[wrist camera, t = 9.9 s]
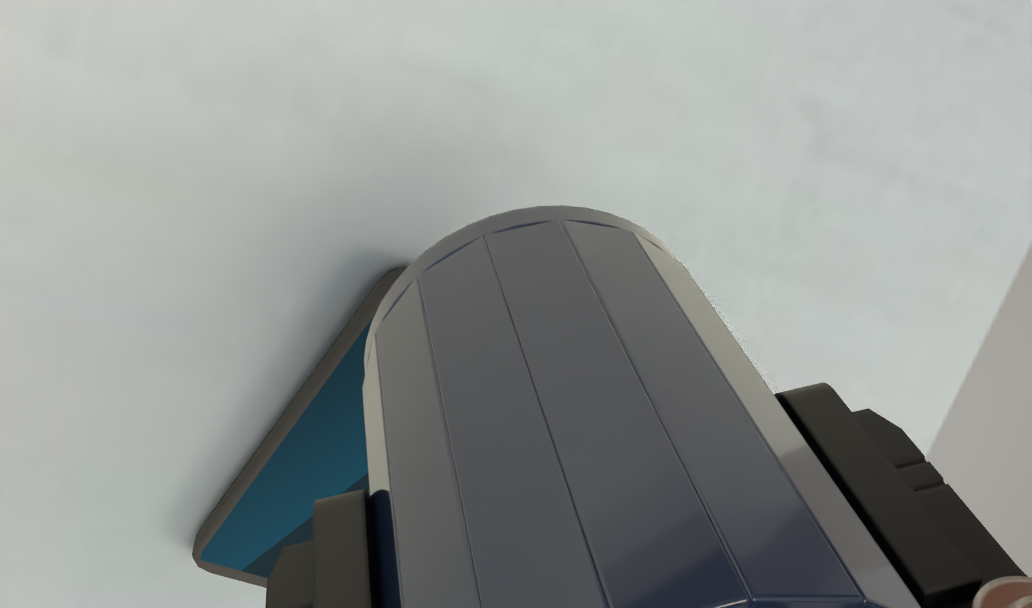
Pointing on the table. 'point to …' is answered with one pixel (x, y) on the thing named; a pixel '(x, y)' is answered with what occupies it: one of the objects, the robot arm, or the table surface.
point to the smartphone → (297, 462)
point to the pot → (589, 437)
